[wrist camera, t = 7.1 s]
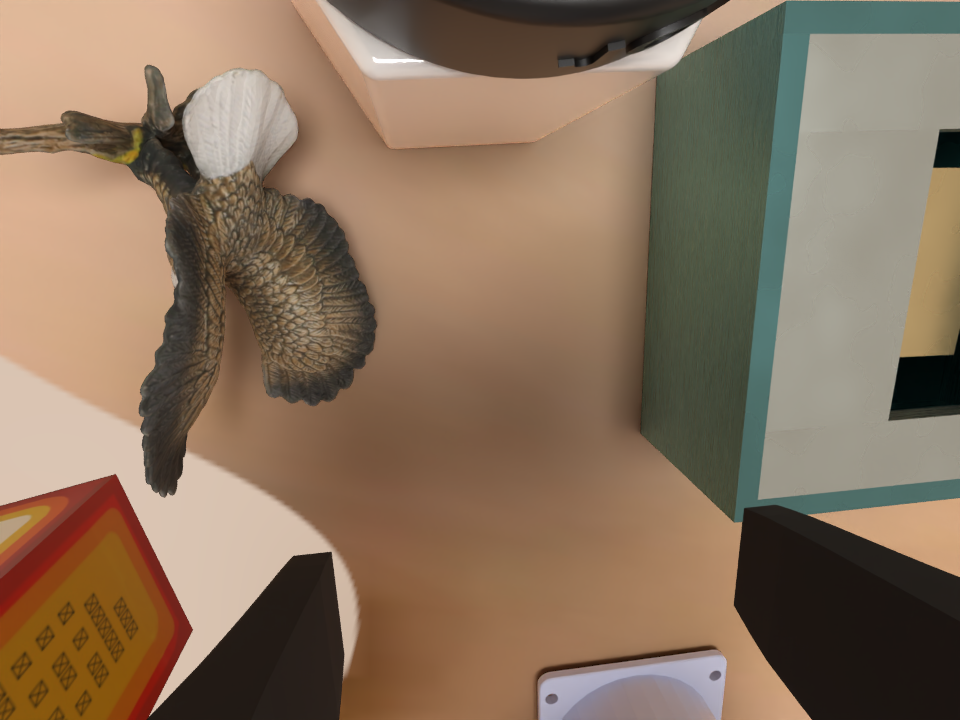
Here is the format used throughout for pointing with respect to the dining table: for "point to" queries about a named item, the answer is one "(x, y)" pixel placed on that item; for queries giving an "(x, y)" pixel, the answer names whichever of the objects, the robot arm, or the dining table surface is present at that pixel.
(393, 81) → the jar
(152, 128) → the eagle figurine
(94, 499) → the baking soda box
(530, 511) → the dining table surface
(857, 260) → the box
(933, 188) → the block
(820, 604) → the robot arm
